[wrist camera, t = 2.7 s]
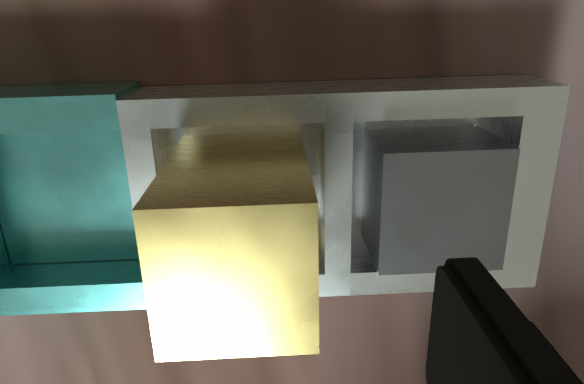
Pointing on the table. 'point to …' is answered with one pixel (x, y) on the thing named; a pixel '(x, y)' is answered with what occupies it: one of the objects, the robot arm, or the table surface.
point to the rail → (234, 120)
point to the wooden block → (231, 249)
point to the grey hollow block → (436, 197)
